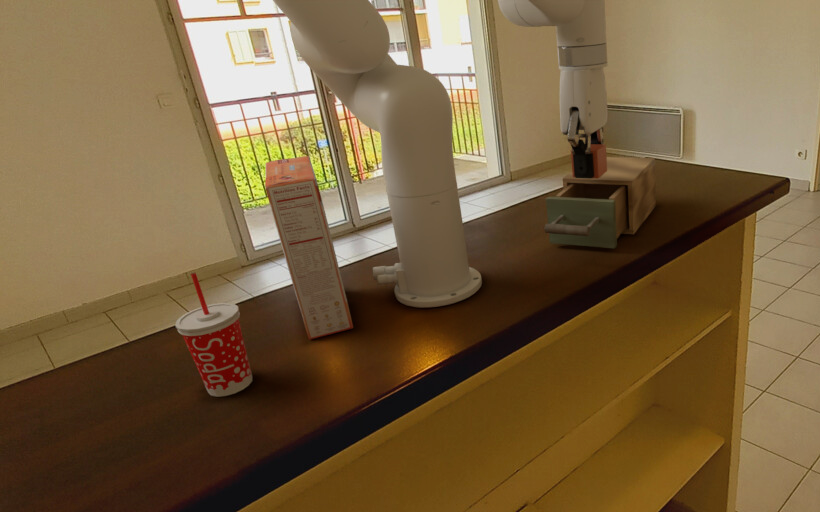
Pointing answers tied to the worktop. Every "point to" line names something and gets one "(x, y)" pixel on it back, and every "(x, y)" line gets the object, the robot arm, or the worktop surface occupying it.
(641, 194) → the cabinet
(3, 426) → the worktop surface
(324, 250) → the cracker box
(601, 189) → the drawer
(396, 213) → the robot arm
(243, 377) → the beverage cup
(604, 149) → the block
